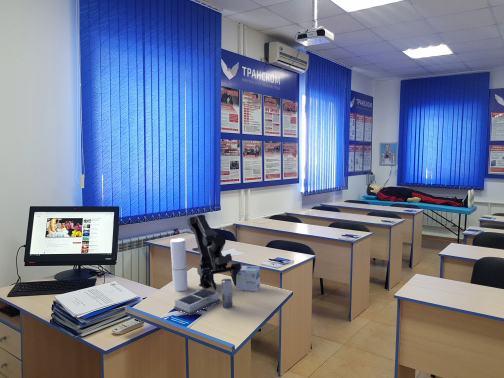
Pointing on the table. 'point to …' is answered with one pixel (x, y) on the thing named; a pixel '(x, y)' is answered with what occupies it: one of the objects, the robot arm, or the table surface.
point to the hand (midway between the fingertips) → (226, 287)
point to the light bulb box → (248, 278)
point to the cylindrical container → (179, 264)
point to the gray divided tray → (197, 301)
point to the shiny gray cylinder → (227, 293)
